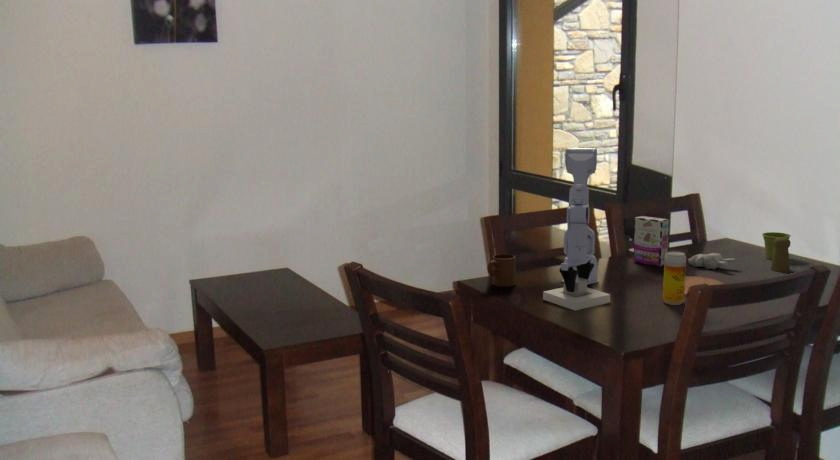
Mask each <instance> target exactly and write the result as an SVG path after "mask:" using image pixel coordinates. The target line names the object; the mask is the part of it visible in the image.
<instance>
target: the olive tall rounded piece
mask: <svg viewBox="0 0 840 460" xmlns="http://www.w3.org/2000/svg"><path fill="white" fill-rule="evenodd" d="M774 246H775V250H774V255H773V259H771V260H772V261H771V265H770V270H771V271H772V272H779V273H788V272H790V270H791V268H790V257H789V256H790V253H789V248H790V246H791V240H790V238H789V239H787V238H776V239H775V240H774Z"/></svg>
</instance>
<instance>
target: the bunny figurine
mask: <svg viewBox="0 0 840 460" xmlns="http://www.w3.org/2000/svg"><path fill="white" fill-rule="evenodd" d="M687 261H688V262H687V263H688V264H690V265H691V266H692V267H695V268H699V267H702V268H704V269H706V270H717V269H719V268H720V267H721V266H722V267H723V266H724V267H725V266H728V265H729V263H737V260H736V258H734V257H733V258H723V257H722V255H721V253H718V252H717V253H716V252H711V253H707V254H706V253H705V254H703V253H698V254H695V255H692V256H691V257H690V258H689V257H688V259H687Z"/></svg>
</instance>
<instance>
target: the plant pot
mask: <svg viewBox="0 0 840 460" xmlns="http://www.w3.org/2000/svg"><path fill="white" fill-rule="evenodd" d="M761 236H762V237H763V240H764V241H763V242H764V248H765V249H764V251H765V252H764V253H765V258H766V259H767V260H772V259H773V255H774V250H775V246H774V240H775V239H776V238H787V239H789V240H790V238H791V236H792V235H791V234H788V233H784V232H778V231H777V232H769V231H768V232H763V233H762V235H761Z"/></svg>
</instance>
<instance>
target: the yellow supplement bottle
mask: <svg viewBox="0 0 840 460" xmlns="http://www.w3.org/2000/svg"><path fill="white" fill-rule="evenodd" d="M686 267H687V256H686V254H685V252H682V251H668V252H667V253H666V255H665V260H664V266H663V287H662V288H663V289H662V300H663V301H664V304H666V305H671V306H679V305H682V304H683V303H684V302H685V292H686V291H685V290H686V273H687V272H686V271H687V268H686Z"/></svg>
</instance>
